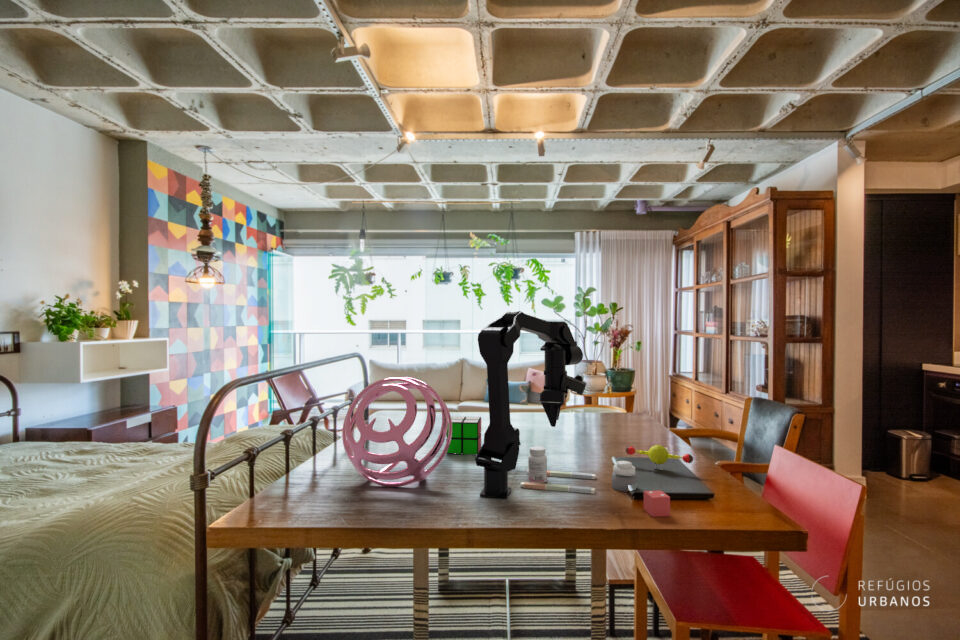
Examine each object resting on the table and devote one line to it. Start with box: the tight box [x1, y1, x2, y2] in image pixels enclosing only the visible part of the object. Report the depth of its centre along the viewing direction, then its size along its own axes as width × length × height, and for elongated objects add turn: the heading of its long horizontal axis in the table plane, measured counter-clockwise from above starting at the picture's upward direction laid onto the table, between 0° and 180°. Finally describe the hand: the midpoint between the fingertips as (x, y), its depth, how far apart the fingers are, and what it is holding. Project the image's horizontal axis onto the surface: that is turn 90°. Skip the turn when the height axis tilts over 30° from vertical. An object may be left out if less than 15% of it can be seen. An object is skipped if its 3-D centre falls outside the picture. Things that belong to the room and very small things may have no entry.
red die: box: [643, 490, 671, 518], centre depth 105 cm, size 4×4×4 cm
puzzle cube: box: [445, 415, 482, 455], centre depth 156 cm, size 10×10×10 cm
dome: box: [612, 460, 636, 476], centre depth 121 cm, size 5×5×2 cm
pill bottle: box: [527, 445, 548, 483], centre depth 126 cm, size 5×5×8 cm
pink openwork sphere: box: [341, 376, 452, 488], centre depth 127 cm, size 28×28×27 cm
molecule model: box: [625, 444, 694, 465], centre depth 136 cm, size 18×6×7 cm, turn 58°
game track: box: [519, 469, 638, 495], centre depth 124 cm, size 13×28×3 cm, turn 76°
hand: (554, 423), depth 135 cm, fingers open, 9 cm apart
